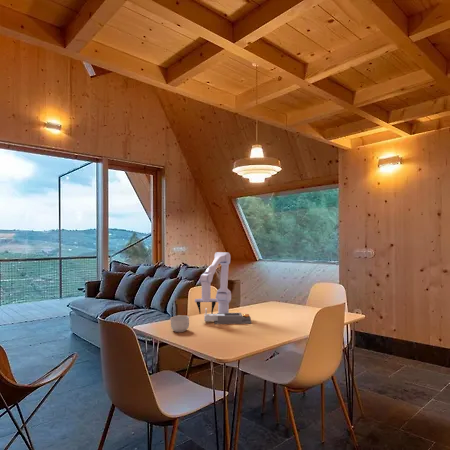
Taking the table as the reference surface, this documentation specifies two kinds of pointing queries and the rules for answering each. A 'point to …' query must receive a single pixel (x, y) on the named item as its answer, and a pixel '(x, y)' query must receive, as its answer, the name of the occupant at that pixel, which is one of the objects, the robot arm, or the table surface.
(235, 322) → the housing
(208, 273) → the robot arm
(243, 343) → the table surface
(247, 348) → the table surface
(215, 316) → the cartridge
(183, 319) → the teacup
